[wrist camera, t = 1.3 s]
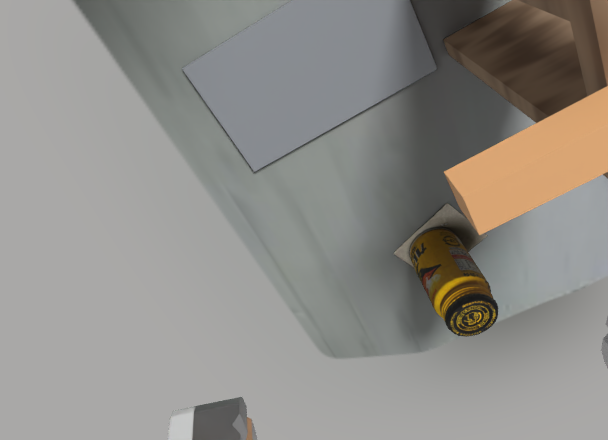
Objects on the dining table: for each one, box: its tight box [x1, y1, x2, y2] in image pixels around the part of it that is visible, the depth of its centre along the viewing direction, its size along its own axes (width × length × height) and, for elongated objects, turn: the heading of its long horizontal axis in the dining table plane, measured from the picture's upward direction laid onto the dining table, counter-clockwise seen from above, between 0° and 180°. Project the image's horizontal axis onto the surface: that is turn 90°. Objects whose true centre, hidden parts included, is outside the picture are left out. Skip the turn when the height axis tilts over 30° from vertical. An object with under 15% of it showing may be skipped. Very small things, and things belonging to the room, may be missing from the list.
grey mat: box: [182, 0, 437, 172], centre depth 47 cm, size 20×12×1 cm, turn 119°
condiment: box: [394, 203, 498, 336], centre depth 56 cm, size 7×8×12 cm
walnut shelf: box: [443, 0, 608, 178], centre depth 34 cm, size 9×11×26 cm
